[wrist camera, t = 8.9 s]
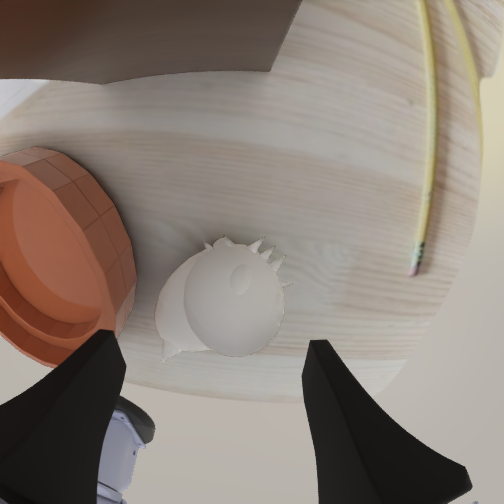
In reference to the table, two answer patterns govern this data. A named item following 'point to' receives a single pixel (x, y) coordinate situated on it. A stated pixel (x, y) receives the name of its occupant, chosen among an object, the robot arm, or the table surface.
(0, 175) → the bowl
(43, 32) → the taupe notched tower
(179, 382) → the table surface
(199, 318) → the toy creature
